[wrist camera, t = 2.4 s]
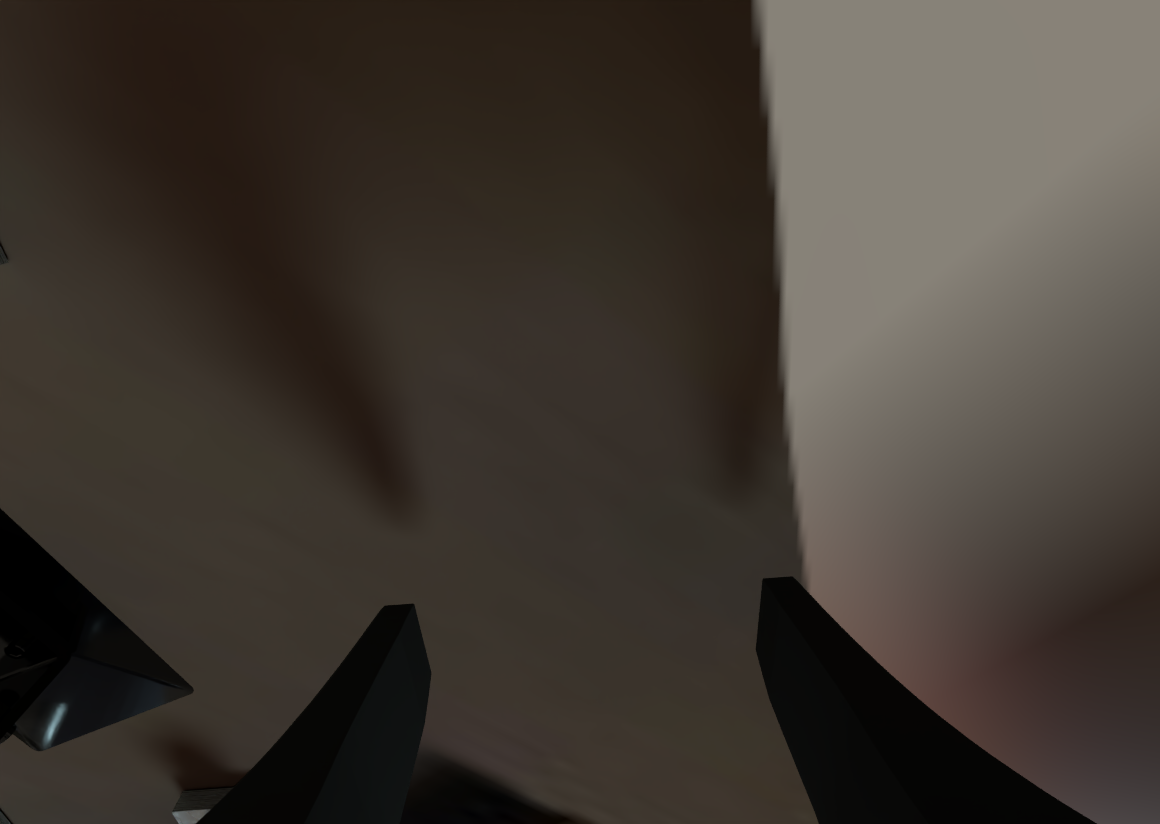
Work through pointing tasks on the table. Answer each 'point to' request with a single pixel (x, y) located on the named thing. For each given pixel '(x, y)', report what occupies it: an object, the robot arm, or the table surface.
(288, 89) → the table surface
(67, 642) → the black boxy piece
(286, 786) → the robot arm
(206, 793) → the guide pins
